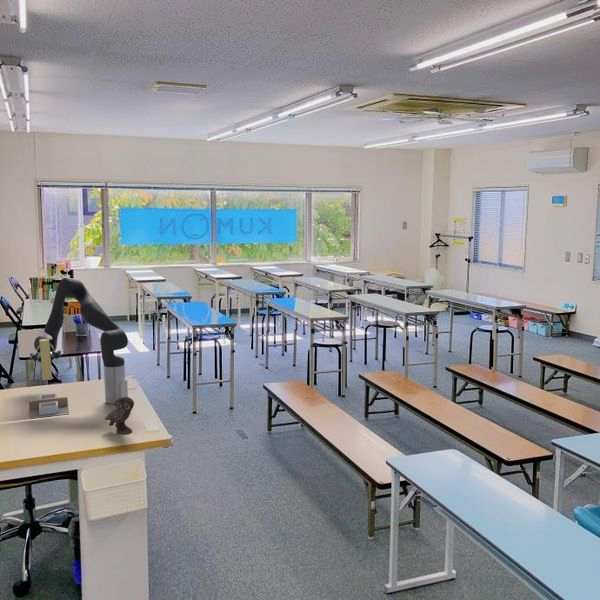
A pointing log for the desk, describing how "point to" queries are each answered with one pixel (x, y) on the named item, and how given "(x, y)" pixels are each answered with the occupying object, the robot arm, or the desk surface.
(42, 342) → the post
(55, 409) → the plate
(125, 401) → the figurine
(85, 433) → the desk surface
